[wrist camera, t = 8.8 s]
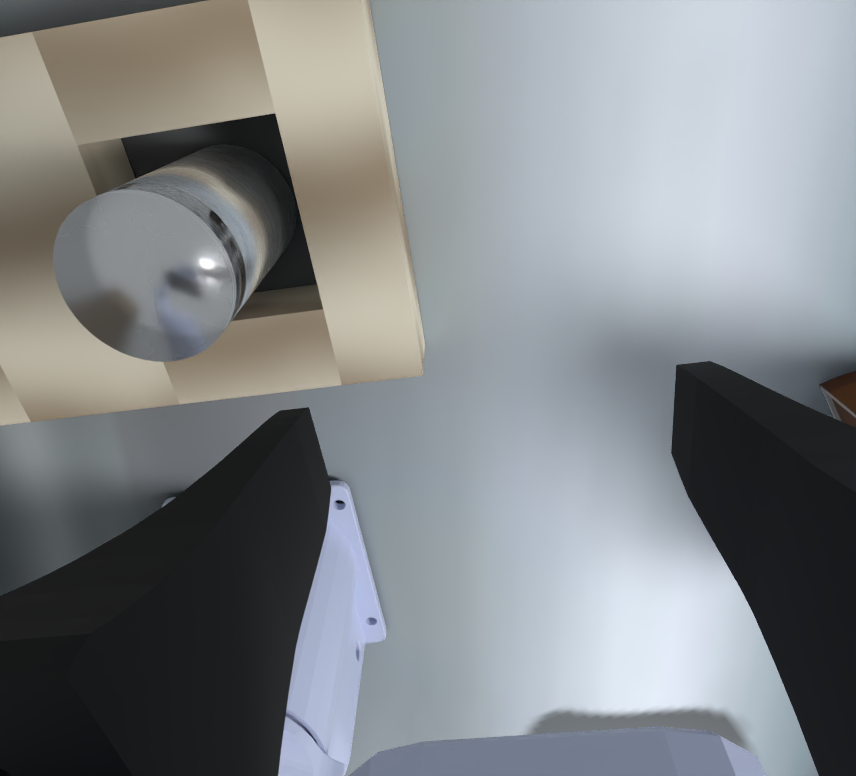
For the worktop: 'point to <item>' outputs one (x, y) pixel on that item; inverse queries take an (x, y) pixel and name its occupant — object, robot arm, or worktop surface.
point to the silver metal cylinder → (174, 251)
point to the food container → (842, 397)
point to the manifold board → (109, 168)
